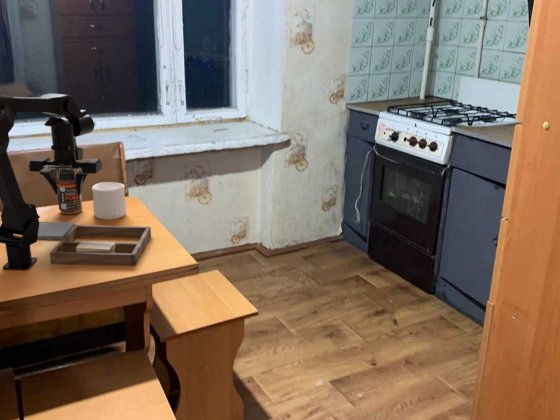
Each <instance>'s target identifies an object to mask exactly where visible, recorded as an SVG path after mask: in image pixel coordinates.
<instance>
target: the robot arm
mask: <svg viewBox="0 0 560 420" xmlns="http://www.w3.org/2000/svg"><path fill="white" fill-rule="evenodd" d="M2 113H3V115H2V117H1V118H0V201H1V204H2V211H1V214H0V219H1V224H0V244H5V251H6V258H7V262H6V263H5V264H4V265H3V266H2V269H3V270H29V269H30V268H31V267H32V266H33V264H35V263H36V261H37V260H38V257H32V250H31V245H33V244H35V243H37V241H38V239H37V237H38V230H39V222H40V220H39V219H40V218H41V216H40V215H39V214H38V210H37V207H36V204H33V203H27V202H26V201H25V200H24V197H23V193H22V191H21V189H20V188H21V187H20V186H19V183H18V182H19V181H18V180H17V177H16V174H15V172H14V168H13V166H12V163H11V160H10V157H9V154H8V147H9V144H10V137H9V133H10V131H11V130H12V129H13V127H14V126H15V118H16V115H17V113H41V114H42V113H43V114H46V115H51V116H49V117H48V120H46V121H45V122H44V126H46V127H50V131H51V132H50V133H51V143H52V145H50V150H51V151H53V152H52V153H53V160H51V159H50V157H49V156H36V157H34V158H32V159H31V160H30V161H29V162H28V171H29V172H34V173H35V172H38V173H39V175H42V176H43V177H44V178H45V180H46V181H47V182H48V184H49V185H50V187H51V189H52V190H53V191H54V193H55V194H56V195H57V196H58V194H57V168H72V169H78V170H79V172H78V173H77V174H76V183H77V192H78V195H81V196H82V192H83V187H84V184H85V180H86V178H87V176H89V175H90V174H93V175H94V174H97V173H98V172H100V171H101V170H102V169H103V163H102V160H101V159H100V158H86V159H85V160H84V161H79V160H83V158H84V148H82V147H78V146H77V145H78V144H77V141H76V142H74V137H76V138H77V137H80V136H83V135H84V136H85V135H87V134H90V133H92V132H93V131H94V129H95V122H94V119H93V118H92V116H91V115H89V114H88V110H87V109H80V108H79V105H77V102H76V101H75V100H74V97H73V95H69V94H62V93H53V92H50V93H45V94H41V96H37V97H35V96H30V97H29V96H12V95H11V96H10V95H0V115H1V114H2ZM54 116H55V117H54ZM76 160H78V162H76Z"/></svg>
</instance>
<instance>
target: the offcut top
mask: <svg viewBox="0 0 560 420" xmlns="http://www.w3.org/2000/svg"><path fill="white" fill-rule="evenodd" d="M110 242H111V241H90V240H89V241H88V240H82V241H81V243H80V244H79V245H78V246H77V247H76V252H94V253H112V252H113V250H114V249H115V243H110Z"/></svg>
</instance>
